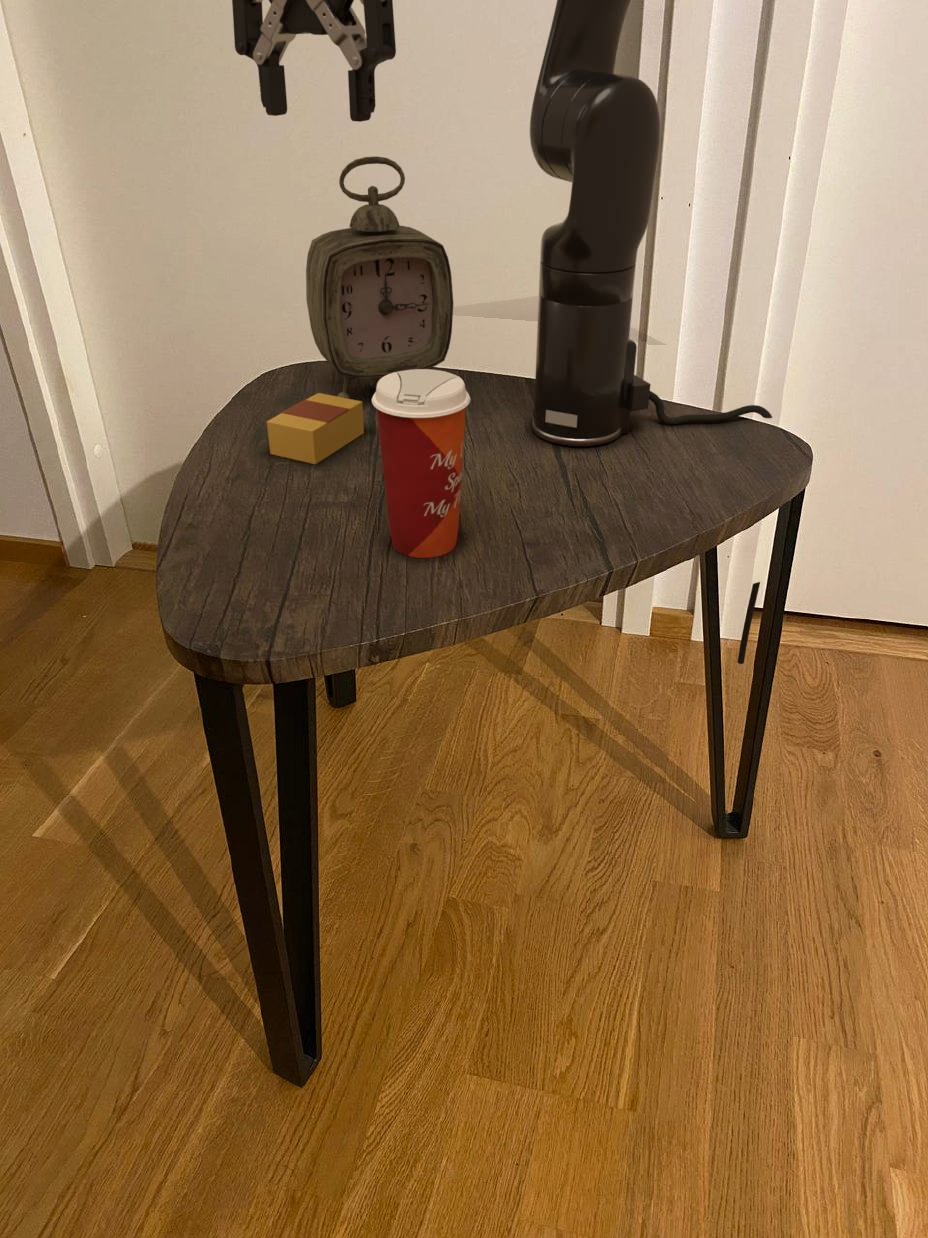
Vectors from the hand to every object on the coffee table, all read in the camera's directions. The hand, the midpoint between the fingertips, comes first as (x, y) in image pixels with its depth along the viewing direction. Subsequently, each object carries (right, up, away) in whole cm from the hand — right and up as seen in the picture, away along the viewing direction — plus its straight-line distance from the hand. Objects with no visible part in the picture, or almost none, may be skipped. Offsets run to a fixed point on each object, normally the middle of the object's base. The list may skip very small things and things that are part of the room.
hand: (317, 117), depth 83 cm
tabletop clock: (+3, -17, +30) cm, 35 cm away
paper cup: (+9, -36, 0) cm, 37 cm away
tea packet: (-3, -25, +18) cm, 30 cm away
